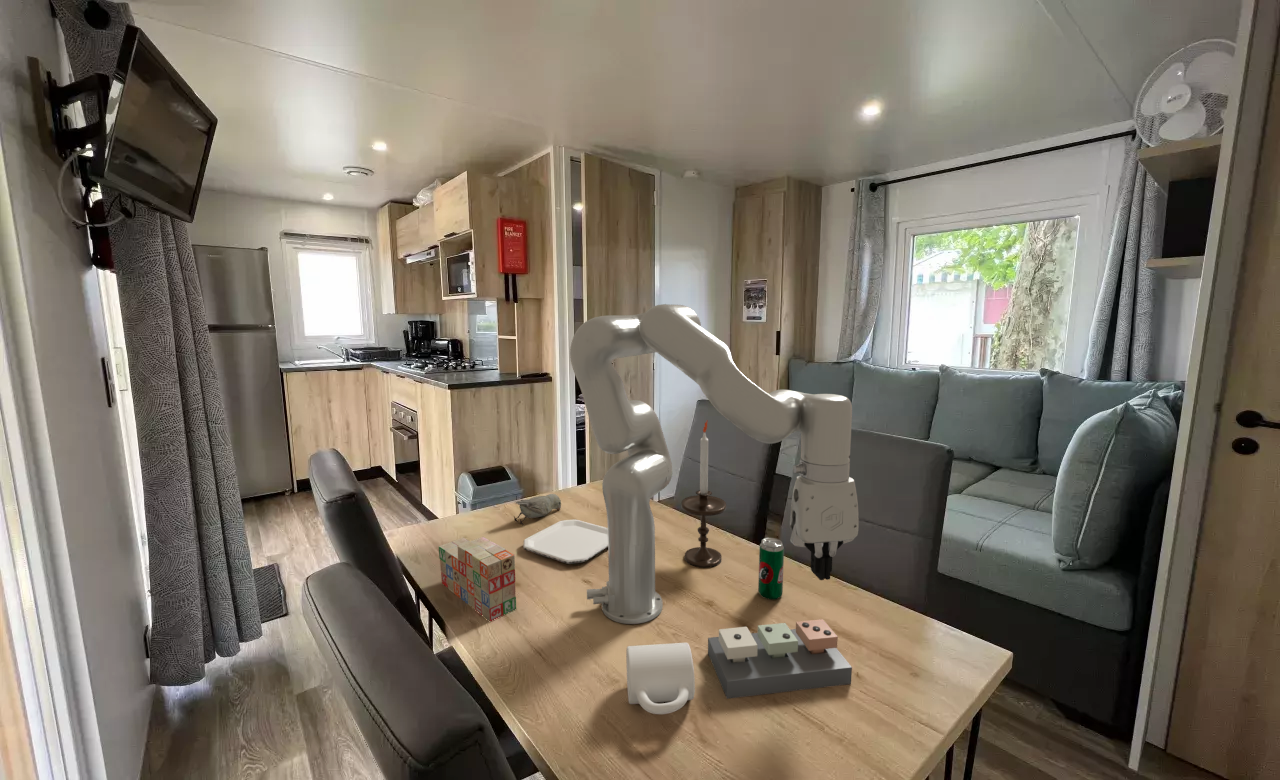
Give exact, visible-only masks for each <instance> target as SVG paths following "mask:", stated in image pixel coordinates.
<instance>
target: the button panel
mask: <svg viewBox="0 0 1280 780" xmlns="http://www.w3.org/2000/svg"><path fill="white" fill-rule="evenodd" d="M790 630H791V632H792V633H793V634H794V636H795V637H796V639H797V640H798V652H792V653H785V657H782V658H773V659H772V658H771V656H770V655H769V654H768V653H767V651H766V649H765V648H764V646H763V644H762V643H761V641H760V639H759V638H758V632H753V633H752V632H750V633H751V635H752V636H753V638H754V640H755V642H756V643H757V656H755V657H745V662H736V663H731V661H730V659H727V657H726V655H725V653H724V650H723V648H722V646H721V644H720V642H719V636H713V637H708V638H707V654H708V657H709V659H710V661H711V665H712V666H713V667H712V668H714V669H713V670H714V672H715V673H716V676H717V678H718V681H719V683H720V686H721V688H722V690H723V693H724V695H725V697H726V699H736V698H744V697H752V696H761V695H771V694H778V693H786V692H794V691H795V692H796V691H803V690H811V689H820V688H829V687H838V686H845V685H851V684H852V675H853V667H852V666H851V664H850V663H849V662H848V660H847V659H846V658H845V657H844V656H843V654H842V653H841V652H840V651H839V650H838V647H837V648H829V649H824V653H819V654H811V653H810V652H809V650H808V649H807V647H806V646H805V644H804V643H803V642H802V640H801V639H800V638H799V636H798V635H797V633H796V628H794V629H791V628H790Z"/></svg>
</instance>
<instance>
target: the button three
mask: <svg viewBox="0 0 1280 780" xmlns="http://www.w3.org/2000/svg"><path fill="white" fill-rule="evenodd" d="M795 629H796V633H797V635H798V636H799V638H800V639H801V640H802V642H803V643H804V644H805V646H806V647H807V649H808V650H809V652H810V653H811V654H819V653H824V649H829V648H837V649H838V640H839V637H838V635H837V634H836V633H835V632H834V630H833V629H832V628H831V627H830V626H829V624H828V623H827V622H826V621H825V620H824V619H823V618H819V619H812V620H811V619H810V620H801V621H795Z"/></svg>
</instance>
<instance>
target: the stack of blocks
mask: <svg viewBox="0 0 1280 780" xmlns="http://www.w3.org/2000/svg"><path fill="white" fill-rule="evenodd" d="M438 557H439V565H440V566H439V567H440V573H441V575H440V576H441V577H440V578H441V584H442V585H444V586H445V587H446V588H447V589H448V591H450V592H452V593H453V594H454V595H455V596H456V597H457V598H459V599H461V600H462V601H463V602H464V601H465V604H467V605H468V606H469V607H471V606H472V607H473V608H474V611H475V610H476V611H475V612H477V611H478V612H479V613H480V614H481V615H480V614H479V613H478V612H477V613H478V614H479V615H480V616H482V615H483V616H482V617H483V618H484V617H485V618H486V619H487V620H486V619H485V618H484V619H485V620H486V621H488V620H489V621H491V622H493V621H495V620H494V619H496V618H498V617H500V616H502V615H503V616H505V615H507V614H506V613H508V612H510V611H512V610H514V611H515V609H516V610H517V596H516V566H515V565H516V564H515V562H516V561H515V558H516V556H515V554H513V552H510V551H508V550H507V549H506V548H504V547H503V546H501V545H499V544H497V543H495V542H494V541H492V540H490V539H488V538H486V537H484V536H482V537H478V538H476V539H473V540H468V539H466V538H465V537H461V538H458V539H456V540H452V541H450V542H446V543H444V544H441V545H438ZM472 607H471V608H472ZM473 608H472V609H473ZM512 612H513V611H512ZM510 613H511V612H510ZM504 614H505V615H504ZM508 614H509V613H508ZM503 616H502V617H503ZM500 618H501V617H500ZM498 619H499V618H498ZM492 620H493V621H492ZM496 620H497V619H496ZM489 621H488V622H489Z"/></svg>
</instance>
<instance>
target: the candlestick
mask: <svg viewBox="0 0 1280 780" xmlns="http://www.w3.org/2000/svg"><path fill="white" fill-rule="evenodd" d="M707 429H708V419H706V422H704V426H703V429H702V431H703V432H702V437H701V438H700V442H699V443H700V446H699V447H700V450H699V451H700V452H699V453H700V454H699V455H700V456H699V457H700V459H699V460H700V461H699V464H700V465H699V490H696V491H695V494H696V495H690V496H688V497H685V498H683V499H682V500H681V503H680V507H681V509H682V511H684V512H686V513H688V514H691V515H694V516H700V526H699V527H698V528H697V532H698V534H699V537H698V542H699V544H700V546H697V547H691V548H689V549H687V550H686V551H685V552H684V560H685V562H686V563H687V564H688V565H690V566H692V567H695V568H703V569H711V568H714V567H716V566H719V565H720V564H721V563H722V554H721V552H719V551H718V550H717V549H714V548H711V547H707V542H708V541H709V538H708V537H707V536H708V534H709V533H710V528H709V527H707V517H711V516H718V515H721V514H723V513H724V512H726V510H727V502H726V501H725V500H724V499H722V498H720V497H717V496H712V494H713V492H712V491H711V490H708V489H709V481H708V480H709V438H708V437H707V434H706V432H707Z"/></svg>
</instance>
